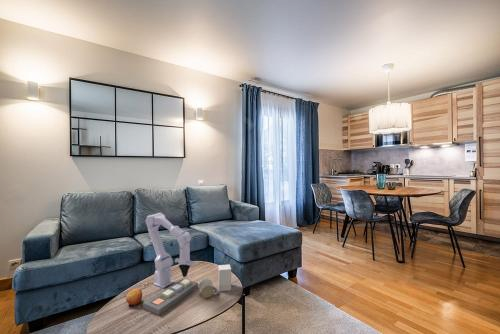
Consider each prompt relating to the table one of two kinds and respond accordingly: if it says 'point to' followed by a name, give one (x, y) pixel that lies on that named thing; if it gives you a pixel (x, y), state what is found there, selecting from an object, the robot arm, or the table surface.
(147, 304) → the keypad
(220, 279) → the supplement box
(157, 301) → the key terracotta
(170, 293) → the key sage
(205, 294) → the ceramic mug
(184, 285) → the key ivory
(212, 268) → the table surface
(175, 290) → the key bluegrey
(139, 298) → the fruit
